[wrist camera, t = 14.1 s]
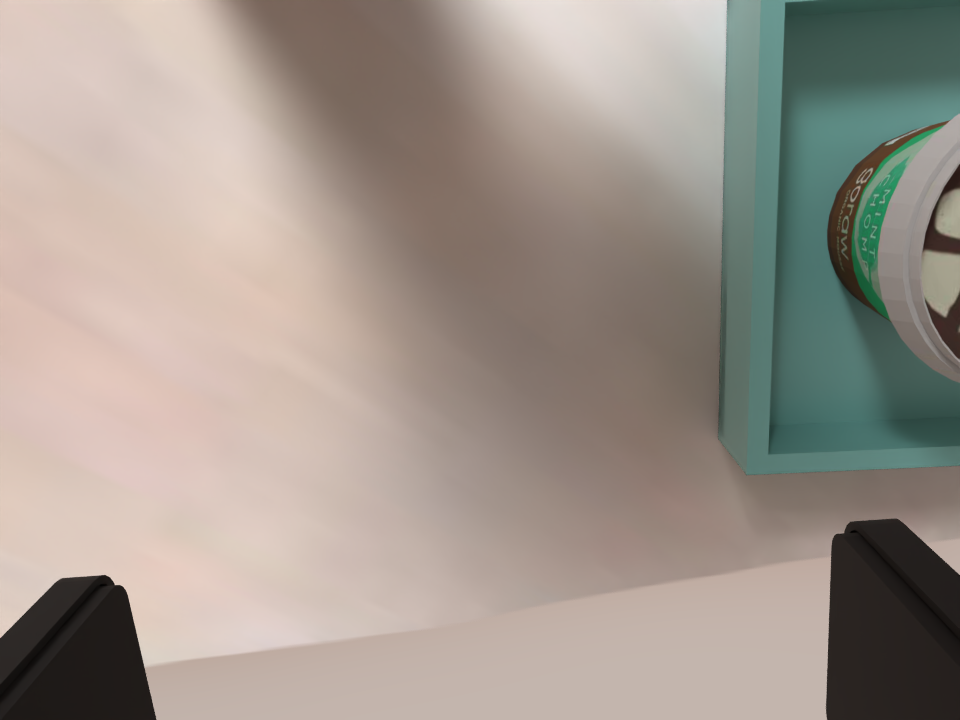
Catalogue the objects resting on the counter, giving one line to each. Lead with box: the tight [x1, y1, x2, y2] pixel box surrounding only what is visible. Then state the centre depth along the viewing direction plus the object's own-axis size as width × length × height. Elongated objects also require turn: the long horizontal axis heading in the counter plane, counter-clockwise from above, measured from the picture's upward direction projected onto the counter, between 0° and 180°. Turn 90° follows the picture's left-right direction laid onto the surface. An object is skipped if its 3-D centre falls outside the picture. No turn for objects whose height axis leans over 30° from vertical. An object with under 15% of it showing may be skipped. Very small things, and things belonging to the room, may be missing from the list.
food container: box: [827, 114, 960, 383], centre depth 34 cm, size 12×6×10 cm, turn 3°
